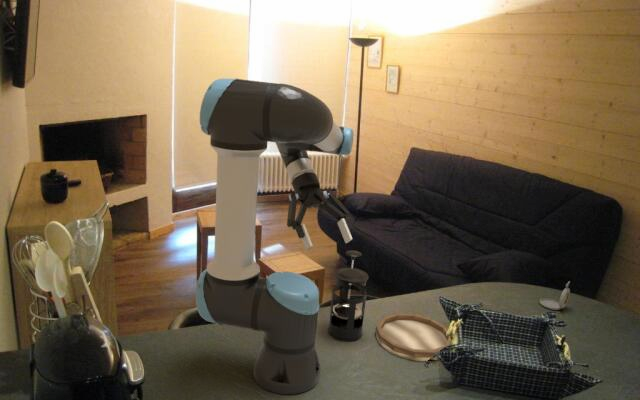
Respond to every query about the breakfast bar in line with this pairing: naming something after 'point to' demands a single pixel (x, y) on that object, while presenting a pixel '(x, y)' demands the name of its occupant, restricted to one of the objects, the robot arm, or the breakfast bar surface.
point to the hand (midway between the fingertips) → (329, 244)
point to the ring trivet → (412, 336)
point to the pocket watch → (554, 304)
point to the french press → (347, 303)
